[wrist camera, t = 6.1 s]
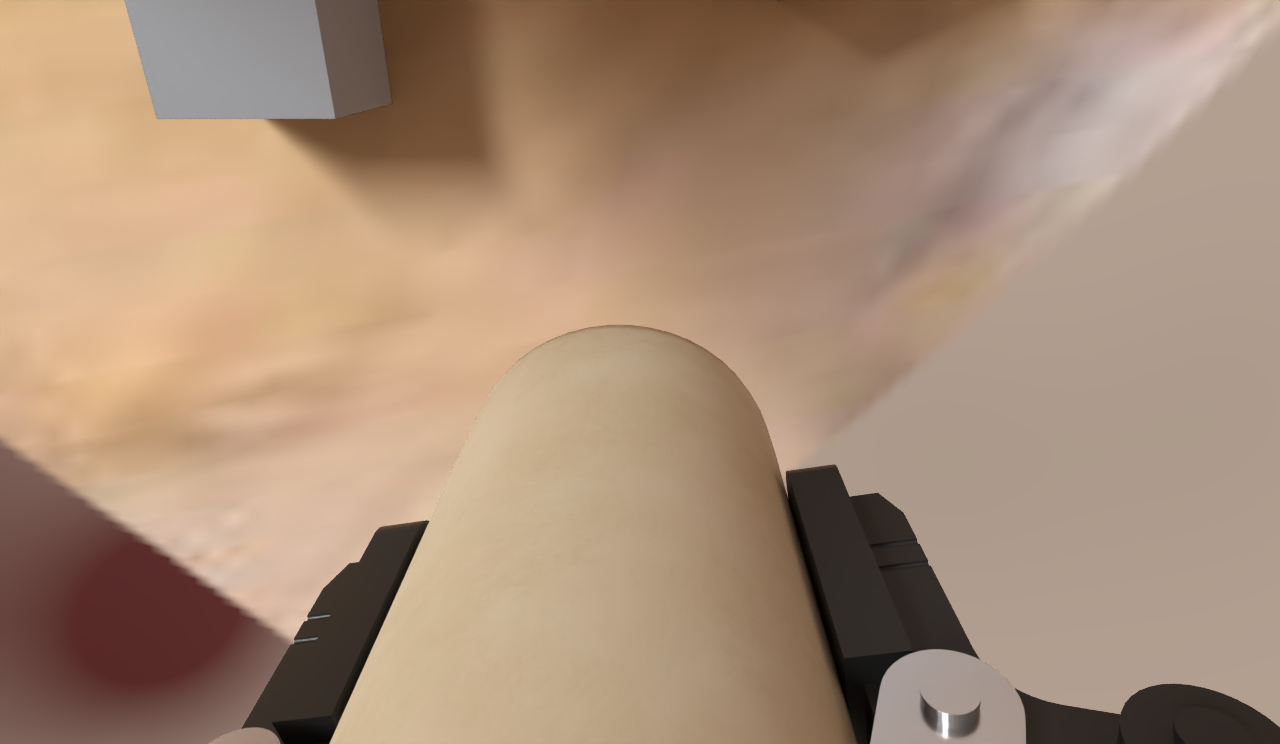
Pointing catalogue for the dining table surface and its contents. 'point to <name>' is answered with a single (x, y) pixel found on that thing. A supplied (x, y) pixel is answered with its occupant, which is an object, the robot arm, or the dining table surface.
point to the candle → (607, 569)
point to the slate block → (261, 57)
